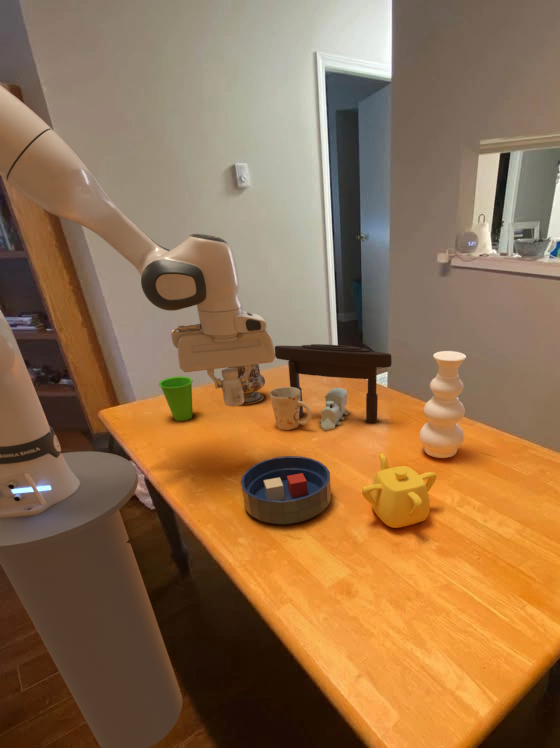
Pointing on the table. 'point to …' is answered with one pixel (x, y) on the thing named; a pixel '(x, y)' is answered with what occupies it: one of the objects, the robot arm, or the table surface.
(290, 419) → the mug
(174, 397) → the cup
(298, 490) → the red block
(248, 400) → the apothecary jar
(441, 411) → the vase
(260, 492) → the bowl
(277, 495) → the cream block
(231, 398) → the pill bottle
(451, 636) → the table surface
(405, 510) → the teapot
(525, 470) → the table surface
